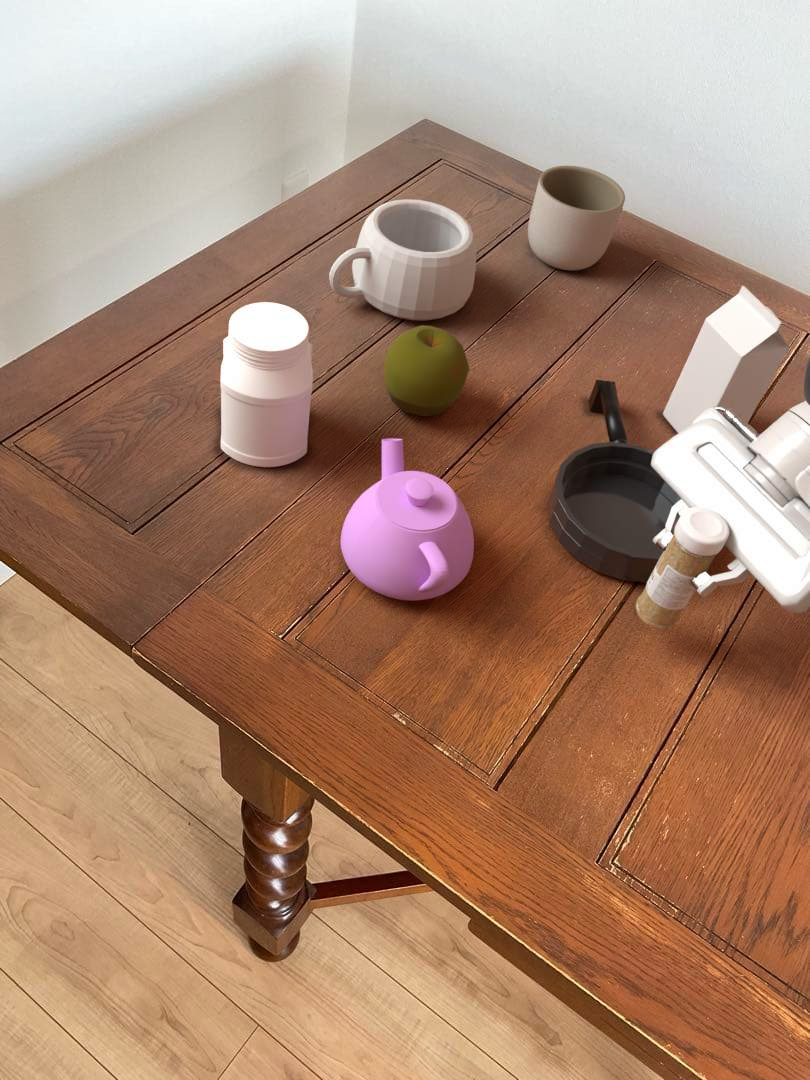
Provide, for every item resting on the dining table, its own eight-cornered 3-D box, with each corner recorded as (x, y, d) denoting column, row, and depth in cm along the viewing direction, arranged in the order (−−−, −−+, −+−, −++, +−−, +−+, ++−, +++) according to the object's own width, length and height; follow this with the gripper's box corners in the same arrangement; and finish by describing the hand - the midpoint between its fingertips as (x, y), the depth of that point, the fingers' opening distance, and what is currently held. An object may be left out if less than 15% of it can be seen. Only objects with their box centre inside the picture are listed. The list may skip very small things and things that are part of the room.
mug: (429, 246, 141) (440, 183, 134) (493, 312, 133) (509, 249, 125) (297, 275, 132) (302, 209, 124) (357, 348, 124) (366, 281, 116)
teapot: (437, 477, 110) (454, 407, 102) (492, 619, 98) (516, 551, 90) (319, 489, 106) (327, 417, 98) (360, 637, 94) (373, 568, 86)
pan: (680, 477, 116) (694, 450, 113) (710, 591, 105) (726, 565, 101) (539, 462, 114) (548, 434, 111) (554, 577, 103) (565, 550, 100)
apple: (386, 432, 114) (399, 358, 106) (371, 378, 120) (382, 304, 112) (467, 428, 116) (486, 356, 108) (449, 376, 122) (465, 304, 114)
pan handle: (606, 403, 123) (617, 375, 120) (620, 473, 115) (633, 445, 112) (588, 401, 123) (598, 373, 120) (601, 471, 115) (612, 443, 111)
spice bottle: (645, 587, 99) (693, 497, 89) (685, 611, 97) (738, 522, 87) (626, 615, 96) (673, 524, 86) (667, 639, 95) (719, 550, 85)
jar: (224, 396, 114) (224, 289, 103) (306, 401, 116) (315, 296, 104) (219, 465, 107) (218, 358, 95) (306, 470, 108) (316, 364, 97)
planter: (606, 244, 149) (628, 178, 140) (598, 288, 140) (621, 220, 132) (527, 224, 149) (545, 157, 141) (515, 266, 141) (533, 198, 133)
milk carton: (693, 452, 119) (756, 327, 105) (661, 415, 123) (718, 289, 109) (738, 441, 122) (805, 318, 108) (705, 405, 126) (766, 281, 112)
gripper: (712, 384, 91) (600, 484, 94) (873, 537, 80) (741, 644, 83) (728, 409, 96) (622, 503, 99) (882, 556, 85) (756, 656, 88)
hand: (677, 569), depth 91 cm, fingers closed on spice bottle, 4 cm apart
